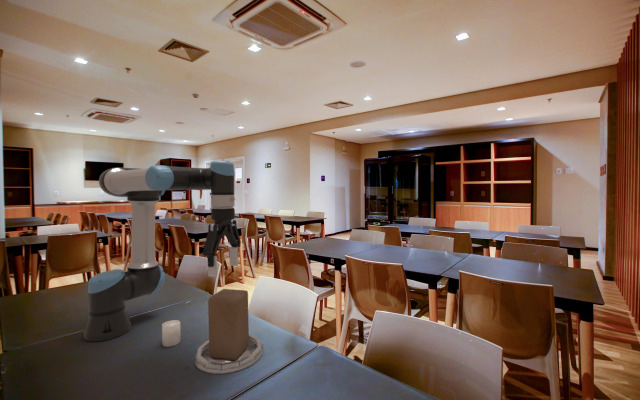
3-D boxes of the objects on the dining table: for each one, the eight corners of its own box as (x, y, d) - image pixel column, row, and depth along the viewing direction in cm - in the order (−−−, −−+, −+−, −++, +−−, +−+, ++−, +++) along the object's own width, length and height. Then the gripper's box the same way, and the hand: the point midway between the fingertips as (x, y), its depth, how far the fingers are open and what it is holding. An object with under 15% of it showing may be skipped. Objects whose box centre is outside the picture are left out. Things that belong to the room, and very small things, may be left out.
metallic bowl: (179, 369, 94) (179, 361, 94) (218, 335, 115) (218, 329, 115) (245, 378, 89) (245, 370, 89) (272, 341, 111) (272, 334, 111)
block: (236, 361, 96) (235, 299, 96) (208, 358, 98) (206, 297, 98) (250, 345, 106) (249, 289, 105) (224, 343, 108) (222, 287, 107)
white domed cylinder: (158, 345, 108) (157, 326, 108) (170, 337, 114) (169, 319, 114) (173, 347, 107) (172, 328, 107) (184, 339, 113) (183, 320, 112)
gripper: (212, 210, 88) (213, 282, 89) (249, 205, 112) (250, 262, 113) (189, 210, 89) (190, 281, 90) (231, 205, 114) (231, 261, 115)
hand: (223, 270), depth 102 cm, fingers open, 13 cm apart
